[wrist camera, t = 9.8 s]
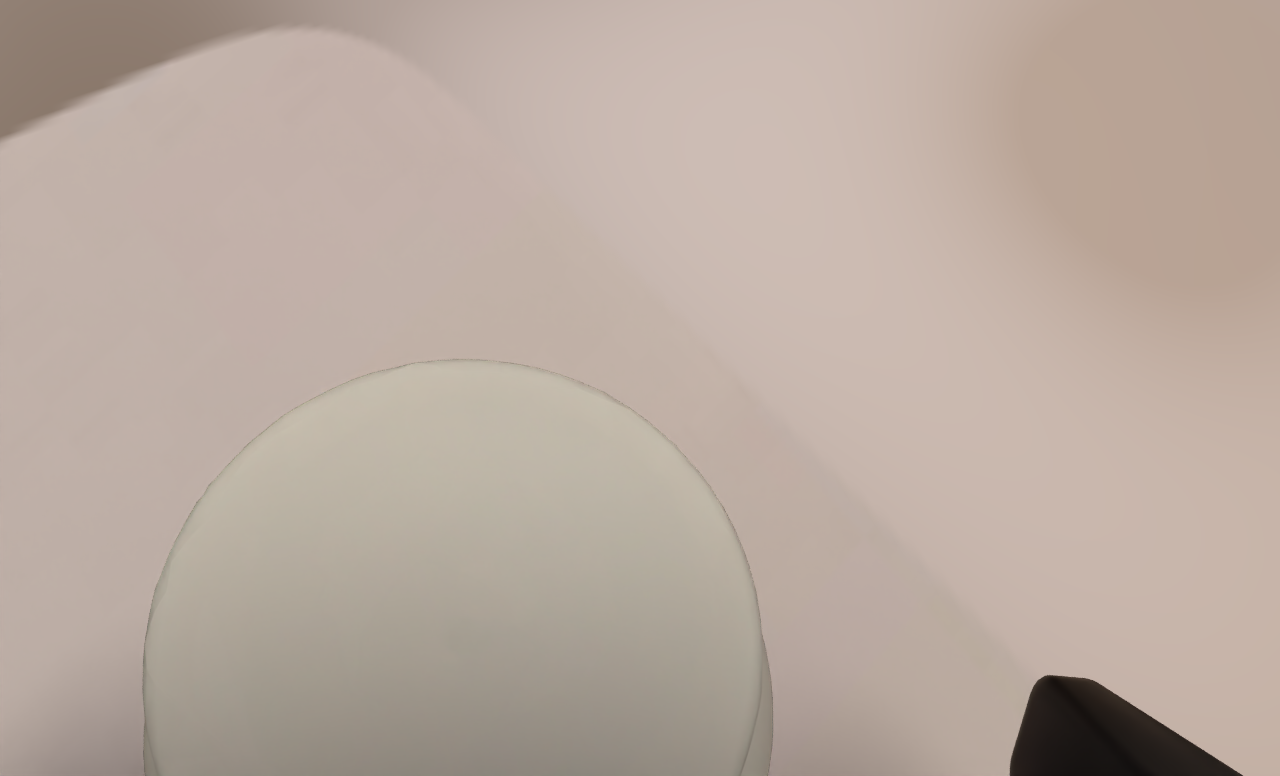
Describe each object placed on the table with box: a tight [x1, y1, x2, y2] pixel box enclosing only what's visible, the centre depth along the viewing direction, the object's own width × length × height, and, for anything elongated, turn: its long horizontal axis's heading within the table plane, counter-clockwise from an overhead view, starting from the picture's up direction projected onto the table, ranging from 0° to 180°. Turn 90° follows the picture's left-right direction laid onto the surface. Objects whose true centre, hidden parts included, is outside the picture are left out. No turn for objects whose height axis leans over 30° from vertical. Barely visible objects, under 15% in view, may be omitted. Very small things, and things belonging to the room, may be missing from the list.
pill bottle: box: [143, 359, 773, 776], centre depth 12 cm, size 5×5×10 cm
